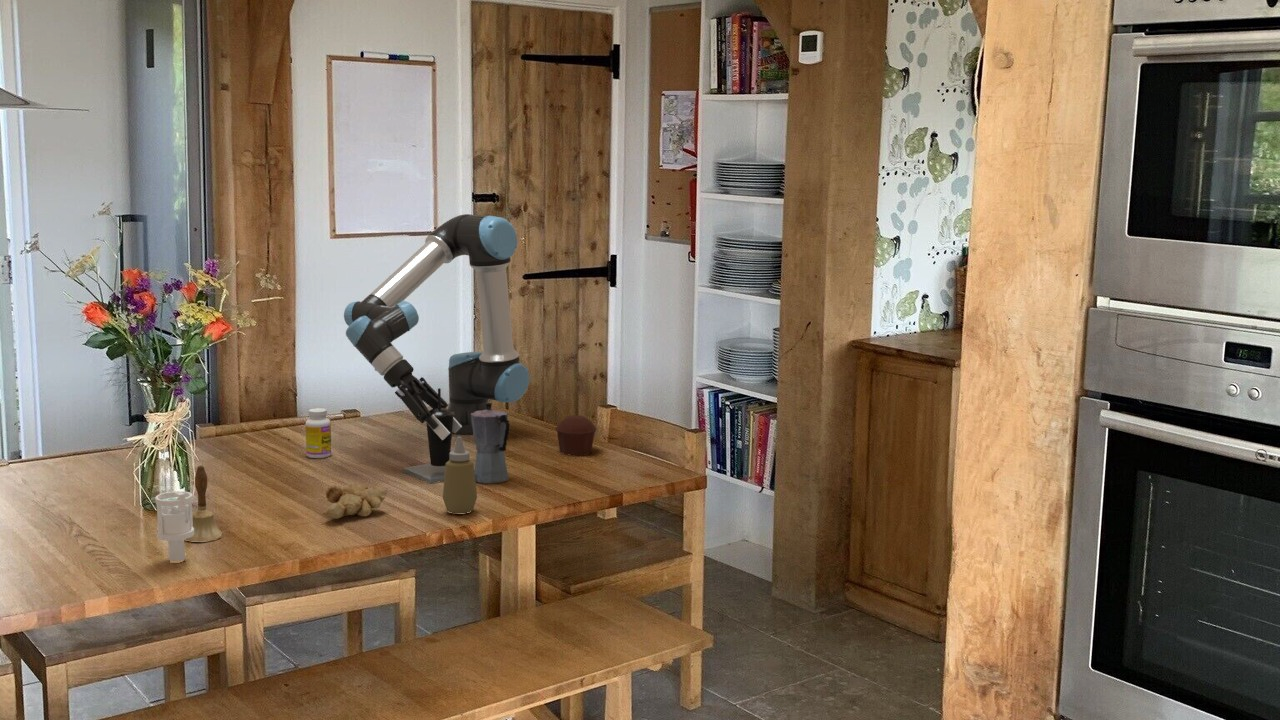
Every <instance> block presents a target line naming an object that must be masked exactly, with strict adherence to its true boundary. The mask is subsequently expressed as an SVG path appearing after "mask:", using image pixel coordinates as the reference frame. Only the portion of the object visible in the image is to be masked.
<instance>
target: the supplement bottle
mask: <svg viewBox="0 0 1280 720" xmlns="http://www.w3.org/2000/svg"><path fill="white" fill-rule="evenodd" d="M327 414H328V410H327V409H326V408H323V407H322V408H321V407H316V408H310V409H309V410H308V415H309V418H307V420H306V421H305V446H306V447H305V452H306V453H305V454H306V457H308V458H310V459H325V458H329V457H330V456H331V455H332V430H331V429H332V428H331V427H332V425H331V423H332V422H331V420H330V419H329V418H327Z"/></svg>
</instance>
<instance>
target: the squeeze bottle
mask: <svg viewBox="0 0 1280 720" xmlns="http://www.w3.org/2000/svg"><path fill="white" fill-rule="evenodd" d="M449 456H450V460H449V461H448V462H446V465H445V476H444V481H443V490H442V500H443V503H444V506H445V509H446V511H449V512H452V513H467V512H470V511H472V510H473V511H474V508H475V505H476V502H477V500H478V494H477V492H478V491H477V485H476V484H477V482H476V481H475V473H474V470H475V467H474V462H473V461H472V460H470V451H468V450H465V445H464V441H463V436H456V438H455V443H454V449H453V450H451V451H450V453H449ZM473 511H472V512H473Z"/></svg>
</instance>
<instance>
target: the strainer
mask: <svg viewBox="0 0 1280 720" xmlns="http://www.w3.org/2000/svg"><path fill="white" fill-rule="evenodd" d="M170 498H177V499H173V500H168V499H170ZM154 499H155V504H156V518H157V532H156V533H157V534H156V535H157V538H158V540H162V541H165V542H167V543H168V556H169V557H168V558H169V560H170V561H181V560H184V559H185V560H186V551H185V550H186V549H185V547H186V545H185V540H184V539H187V538H190V537H192V536H193V535H194V527H193V518H192V514H193V505H192V504H193V493H192V492H189V491H184V490H183V491H182V490H179V491H178V490H175V491H167V492H162V493H159V494H157V495H156V496H155V498H154ZM163 506H164V507H163ZM169 560H168V561H169Z"/></svg>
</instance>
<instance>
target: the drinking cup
mask: <svg viewBox="0 0 1280 720" xmlns="http://www.w3.org/2000/svg"><path fill="white" fill-rule="evenodd" d="M437 394H438V408H434V409H433V408H432V409H430V410H429V409H428V410H429V412H430V413H431V416H432V415H433V414H434V415H435V417H436V418H437V419H438V420H439V421H440V422H441V423H442V424H443V425H444V426H445V428H446V429H447V430H448V431H449V432H450V434H449V435H448V436H447V437H446V438H445V439H444V440H442V439H441V438H440V437H439V436H438V435H437V434H436V433H435V432H434V430H433V429H432V428H431V427H430V426H429V425H428V424H427V423H426V422H425V423H426V432H427V440H428V441H427V443H428V451H429V453H428V454H429V460H430V461H429V462H430V463H431V465H432V466H445V465H446V462H448V461H449V460H450V456H449V453H450V452H451V451H452V450H451V449H452V440H453V439H452V436H453V433H452V427H453V416H454V414H455V413H454V412H453V411H451V410H449V409H448V408H447V407H446V408H441V398H442V397H441V396H442V395H441V394H442V392H441V388H437Z"/></svg>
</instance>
